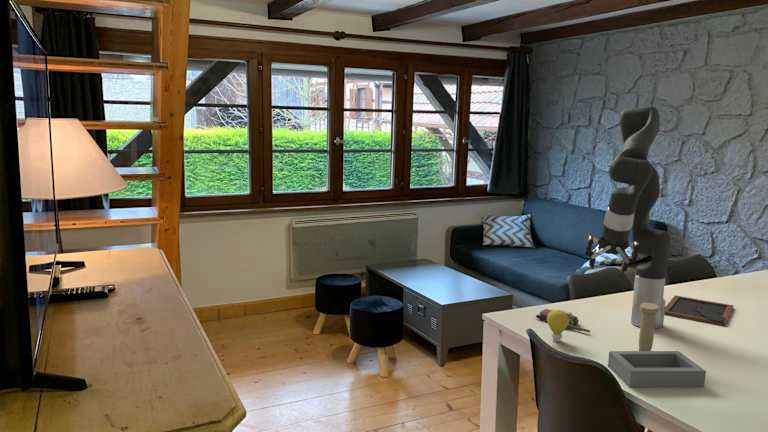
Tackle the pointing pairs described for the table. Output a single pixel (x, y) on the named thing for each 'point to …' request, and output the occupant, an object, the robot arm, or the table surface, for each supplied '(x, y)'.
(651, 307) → the handle
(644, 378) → the gray rectangular tray
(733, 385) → the table surface
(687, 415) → the table surface
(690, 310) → the picture frame
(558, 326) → the light bulb
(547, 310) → the walkie-talkie
